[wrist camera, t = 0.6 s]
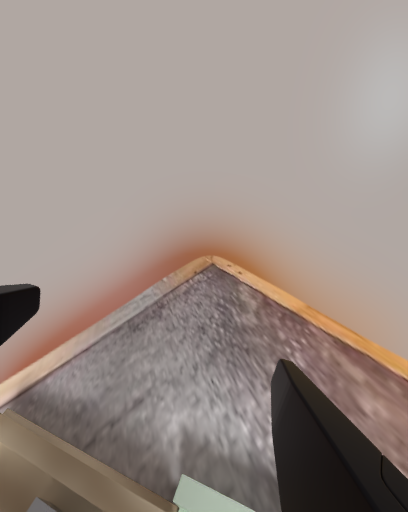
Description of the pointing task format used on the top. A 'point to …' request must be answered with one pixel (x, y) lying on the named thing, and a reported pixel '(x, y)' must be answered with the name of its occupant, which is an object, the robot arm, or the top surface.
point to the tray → (203, 498)
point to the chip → (43, 506)
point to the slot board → (63, 475)
